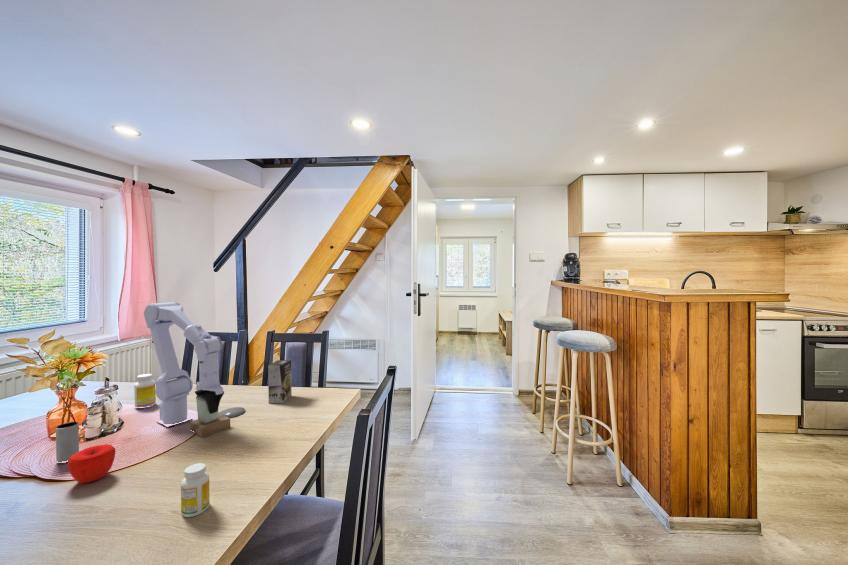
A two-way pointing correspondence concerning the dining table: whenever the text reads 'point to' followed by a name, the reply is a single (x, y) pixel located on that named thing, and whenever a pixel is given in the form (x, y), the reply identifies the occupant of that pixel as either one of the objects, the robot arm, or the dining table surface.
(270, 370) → the coffee box
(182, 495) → the supplement bottle
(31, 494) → the dining table surface
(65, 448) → the grey tin can
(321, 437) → the dining table surface
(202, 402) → the tea tin
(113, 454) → the apple
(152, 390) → the supplement bottle
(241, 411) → the slate coaster
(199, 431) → the tan flat square block
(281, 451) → the dining table surface
